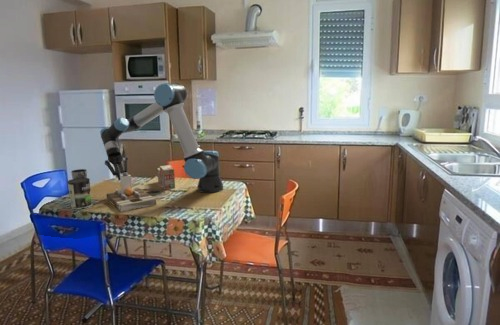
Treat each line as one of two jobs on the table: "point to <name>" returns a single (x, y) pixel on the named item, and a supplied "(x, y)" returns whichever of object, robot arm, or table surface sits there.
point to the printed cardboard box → (166, 177)
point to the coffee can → (80, 193)
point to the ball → (128, 191)
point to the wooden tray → (131, 199)
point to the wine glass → (79, 173)
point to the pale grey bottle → (125, 182)
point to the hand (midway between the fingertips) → (124, 184)
